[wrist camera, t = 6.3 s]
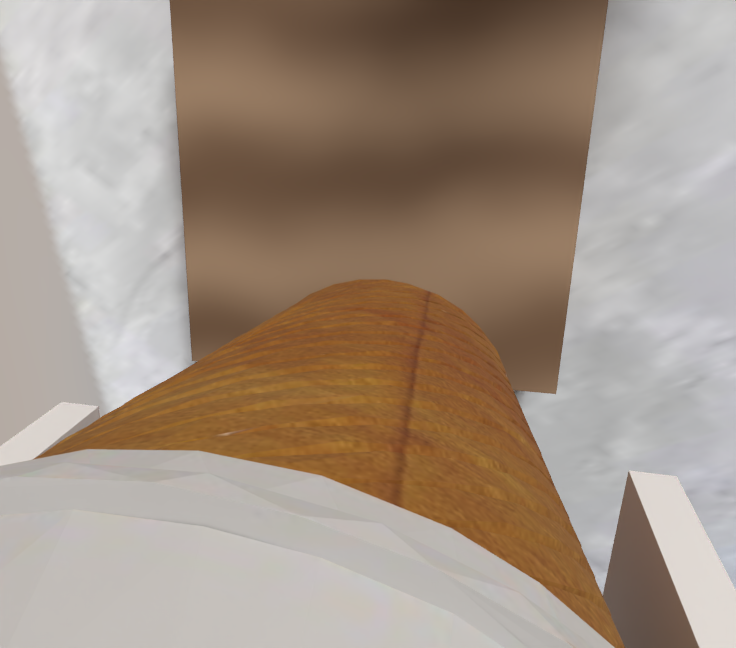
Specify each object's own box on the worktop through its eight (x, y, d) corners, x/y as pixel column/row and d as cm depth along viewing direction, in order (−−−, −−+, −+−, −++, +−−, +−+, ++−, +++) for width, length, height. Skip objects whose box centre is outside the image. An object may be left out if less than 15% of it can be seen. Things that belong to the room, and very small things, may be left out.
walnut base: (544, 352, 31) (555, 393, 27) (232, 326, 34) (192, 360, 29) (589, -13, 26) (613, -41, 22) (218, -13, 29) (167, -38, 24)
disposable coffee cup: (368, 621, 18) (180, 1510, 7) (119, 375, 16) (-648, 963, 5) (671, 434, 15) (1314, 1552, 3) (392, 110, 13) (-84, 169, 2)
